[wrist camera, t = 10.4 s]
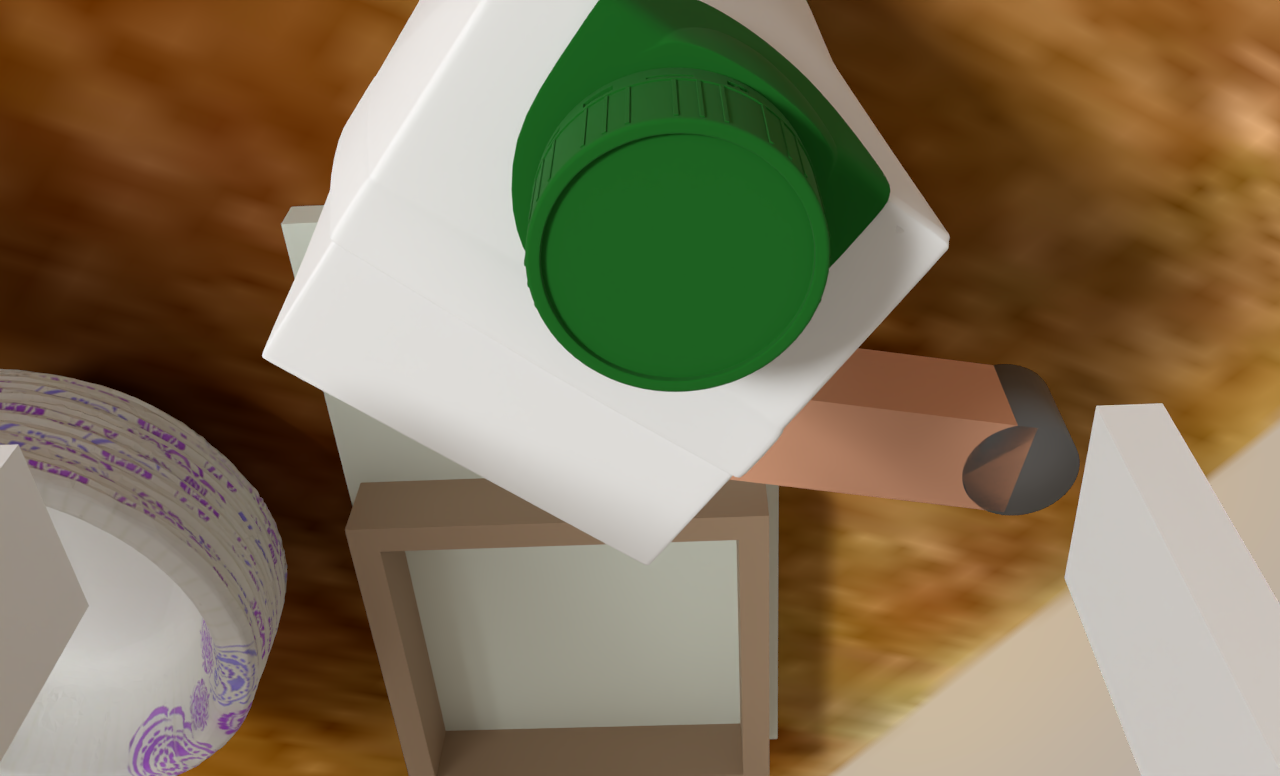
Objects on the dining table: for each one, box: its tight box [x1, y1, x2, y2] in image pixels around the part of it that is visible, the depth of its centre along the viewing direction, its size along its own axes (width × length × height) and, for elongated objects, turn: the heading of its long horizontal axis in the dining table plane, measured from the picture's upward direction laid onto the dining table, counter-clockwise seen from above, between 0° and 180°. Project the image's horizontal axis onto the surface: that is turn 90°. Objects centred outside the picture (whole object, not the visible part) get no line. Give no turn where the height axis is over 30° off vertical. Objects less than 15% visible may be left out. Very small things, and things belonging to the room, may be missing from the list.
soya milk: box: [262, 0, 950, 566], centre depth 25 cm, size 9×9×20 cm
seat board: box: [281, 205, 779, 776], centre depth 42 cm, size 15×24×4 cm, turn 3°
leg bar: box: [729, 348, 1079, 515], centre depth 34 cm, size 17×4×3 cm, turn 82°
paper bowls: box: [0, 369, 287, 776], centre depth 41 cm, size 15×15×8 cm
